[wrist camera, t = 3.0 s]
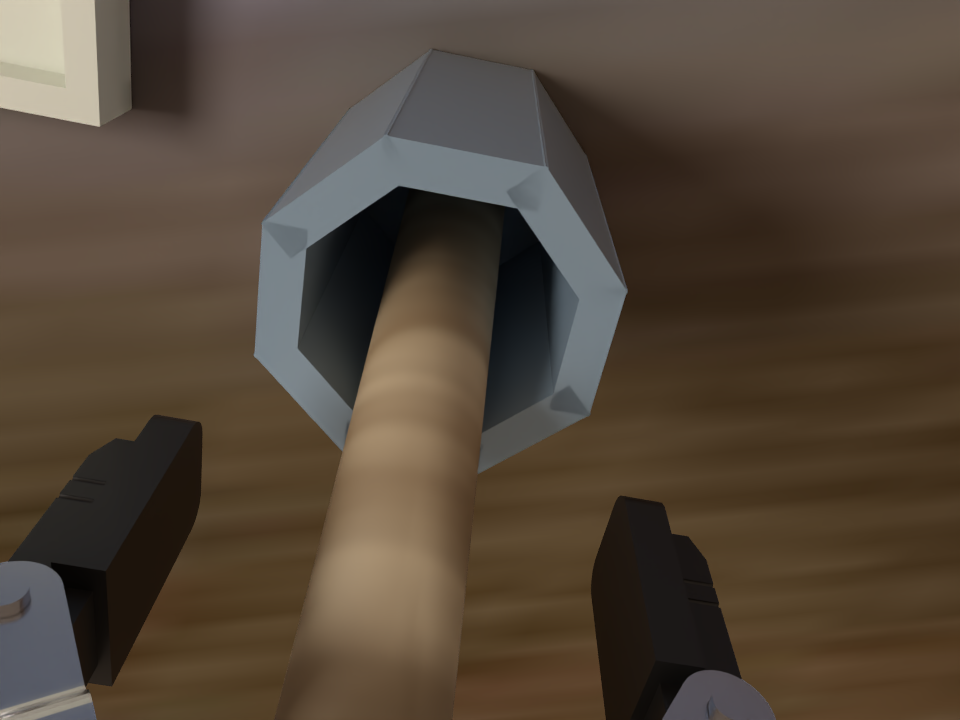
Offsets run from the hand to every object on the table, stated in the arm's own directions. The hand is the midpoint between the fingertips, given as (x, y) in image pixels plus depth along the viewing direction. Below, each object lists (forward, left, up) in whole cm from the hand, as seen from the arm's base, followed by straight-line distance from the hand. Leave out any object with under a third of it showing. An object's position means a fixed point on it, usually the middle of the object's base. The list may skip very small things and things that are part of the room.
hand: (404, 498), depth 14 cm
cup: (-2, 0, -11) cm, 12 cm away
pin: (-1, 0, -11) cm, 11 cm away
